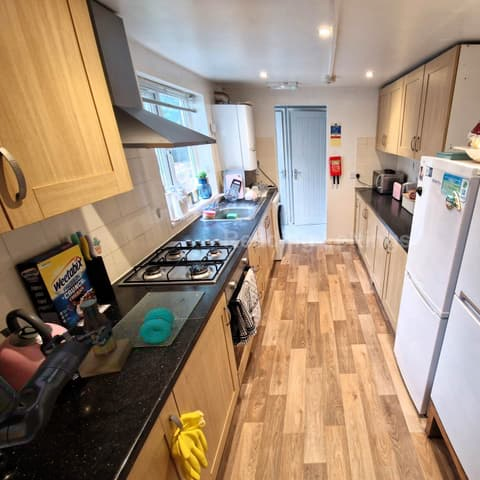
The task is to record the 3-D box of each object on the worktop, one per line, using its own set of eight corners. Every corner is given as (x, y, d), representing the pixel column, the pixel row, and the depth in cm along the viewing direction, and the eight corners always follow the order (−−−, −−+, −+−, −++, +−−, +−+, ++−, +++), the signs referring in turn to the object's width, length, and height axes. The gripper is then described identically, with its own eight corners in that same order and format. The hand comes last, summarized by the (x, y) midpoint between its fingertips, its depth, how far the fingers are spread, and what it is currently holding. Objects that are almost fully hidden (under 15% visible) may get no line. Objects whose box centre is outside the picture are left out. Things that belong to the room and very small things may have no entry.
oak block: (81, 377, 84) (77, 368, 83) (98, 352, 94) (94, 343, 92) (121, 370, 87) (117, 361, 85) (133, 346, 97) (130, 337, 95)
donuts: (176, 324, 108) (172, 304, 104) (172, 341, 99) (167, 320, 96) (148, 329, 105) (143, 309, 101) (142, 347, 96) (135, 325, 92)
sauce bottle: (98, 347, 91) (79, 298, 84) (119, 342, 93) (103, 294, 86) (91, 361, 85) (70, 310, 78) (114, 355, 88) (96, 305, 80)
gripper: (89, 347, 69) (115, 310, 84) (22, 358, 66) (61, 318, 80) (98, 368, 72) (121, 329, 87) (33, 380, 68) (69, 337, 83)
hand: (92, 324), depth 83 cm, fingers open, 8 cm apart
